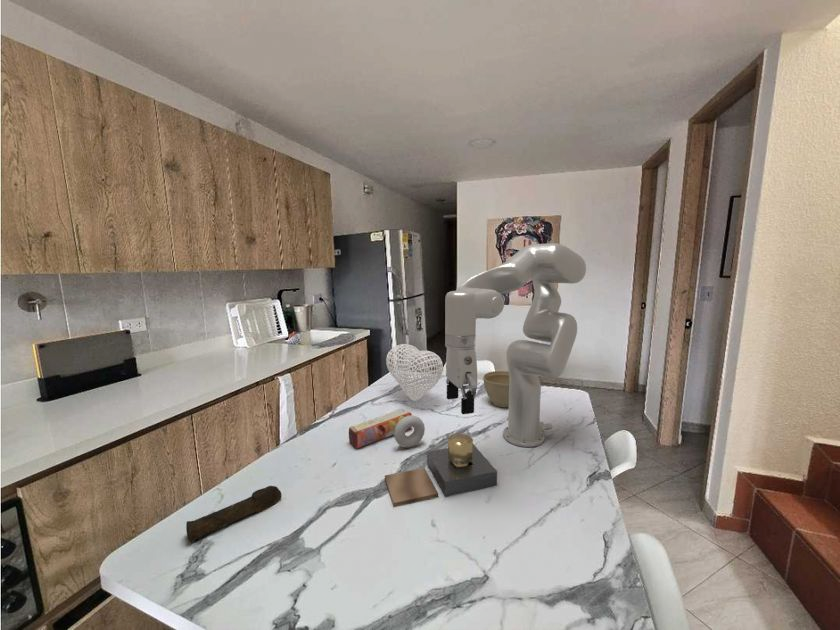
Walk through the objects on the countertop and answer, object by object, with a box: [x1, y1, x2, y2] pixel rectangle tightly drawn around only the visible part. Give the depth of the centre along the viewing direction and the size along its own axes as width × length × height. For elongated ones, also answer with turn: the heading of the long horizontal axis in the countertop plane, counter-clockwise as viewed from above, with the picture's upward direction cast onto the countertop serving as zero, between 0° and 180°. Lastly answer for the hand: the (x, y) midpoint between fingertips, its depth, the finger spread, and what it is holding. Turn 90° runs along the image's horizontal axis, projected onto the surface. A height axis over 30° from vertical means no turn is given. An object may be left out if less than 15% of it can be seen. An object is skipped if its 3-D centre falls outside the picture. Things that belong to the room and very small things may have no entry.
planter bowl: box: [482, 370, 509, 408], centre depth 137 cm, size 16×16×11 cm
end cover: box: [447, 433, 474, 468], centre depth 91 cm, size 6×6×10 cm
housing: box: [426, 443, 498, 498], centre depth 92 cm, size 14×14×4 cm
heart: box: [385, 343, 444, 402], centre depth 140 cm, size 28×16×22 cm, turn 36°
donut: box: [393, 415, 426, 448], centre depth 106 cm, size 10×4×10 cm, turn 116°
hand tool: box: [185, 485, 282, 543], centre depth 77 cm, size 19×4×5 cm, turn 128°
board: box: [384, 467, 439, 508], centre depth 87 cm, size 11×11×1 cm
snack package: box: [348, 407, 412, 449], centre depth 113 cm, size 21×7×7 cm, turn 127°
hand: (459, 405), depth 89 cm, fingers open, 9 cm apart
